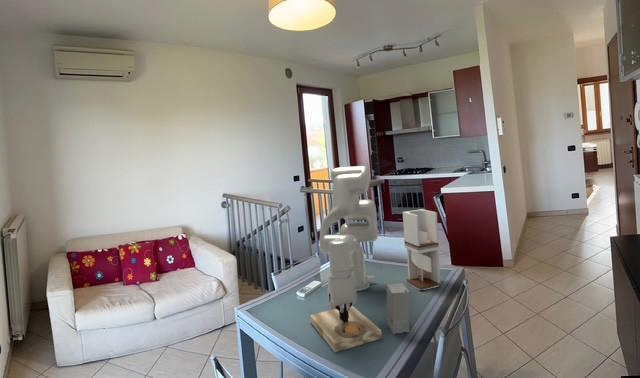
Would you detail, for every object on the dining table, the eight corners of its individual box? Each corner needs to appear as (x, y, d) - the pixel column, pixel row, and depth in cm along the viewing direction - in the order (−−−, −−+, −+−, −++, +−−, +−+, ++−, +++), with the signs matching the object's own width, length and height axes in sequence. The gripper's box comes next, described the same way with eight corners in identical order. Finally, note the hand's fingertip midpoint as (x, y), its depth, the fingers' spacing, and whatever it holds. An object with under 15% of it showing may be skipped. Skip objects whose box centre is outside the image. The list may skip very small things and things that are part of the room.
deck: (351, 311, 150) (351, 304, 150) (381, 338, 128) (381, 330, 128) (310, 322, 144) (310, 315, 144) (335, 352, 122) (334, 343, 121)
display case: (406, 283, 175) (402, 212, 171) (425, 279, 178) (422, 209, 174) (420, 291, 164) (416, 215, 160) (440, 287, 168) (436, 212, 164)
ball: (359, 337, 131) (352, 324, 134) (363, 333, 127) (356, 319, 130) (347, 343, 129) (341, 329, 132) (350, 338, 125) (344, 324, 128)
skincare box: (386, 323, 138) (383, 283, 136) (404, 321, 138) (402, 281, 137) (392, 335, 130) (390, 292, 128) (412, 332, 130) (409, 290, 128)
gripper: (354, 266, 139) (357, 312, 141) (318, 274, 133) (322, 321, 136) (363, 272, 132) (367, 320, 134) (325, 280, 126) (329, 330, 129)
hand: (344, 320), depth 135 cm, fingers closed
